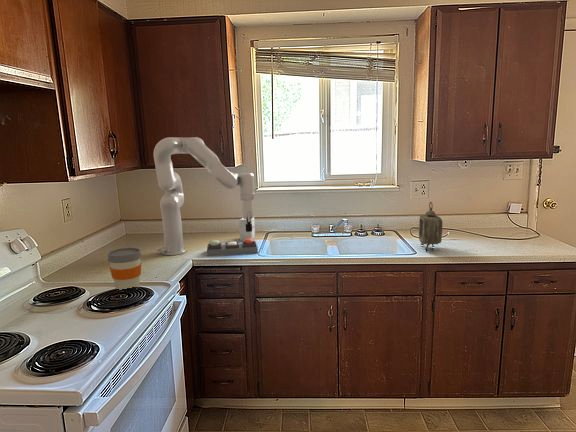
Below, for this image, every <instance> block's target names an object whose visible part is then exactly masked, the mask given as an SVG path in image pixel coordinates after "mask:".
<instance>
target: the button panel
mask: <svg viewBox="0 0 576 432" xmlns="http://www.w3.org/2000/svg"><path fill="white" fill-rule="evenodd" d="M241 241H242V240H241ZM228 242H229V241H227V242H225V244H222V242H219V244H220V245H219V246H210V242H208V243H207V246H206V256H207V257H214V256H215V257H216V256H217V257H218V256H228V255H229V256H233V255H247V254H250V255H251V254H259V252H258V251H259V250H258V248H259V247H258V245H257V242H256V240H254V243H253V244H245V243H244V241H242V242H241V243H239V241H236V242H237V245H227V243H228Z"/></svg>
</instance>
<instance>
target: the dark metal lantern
mask: <svg viewBox="0 0 576 432" xmlns="http://www.w3.org/2000/svg"><path fill="white" fill-rule="evenodd" d="M433 207H434V205H433V202H432V201H430V202H429V204H428V208H429V210H427V211H426V213H424V214H420V215H419V224H418V239H419V242H420V246H421V245H426V248H424V250H427V251H428V248H429V246H430V245H431V248H432V247H435V246H434V245H439V244H441V243H442V237H443V220H442V218H441V217H440V216H438V215H437V214H436V212H435V211H434V210H433Z"/></svg>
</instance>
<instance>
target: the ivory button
mask: <svg viewBox="0 0 576 432" xmlns="http://www.w3.org/2000/svg"><path fill="white" fill-rule="evenodd" d="M227 242H228V243H227V245H237V242H238V241H227Z"/></svg>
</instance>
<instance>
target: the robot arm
mask: <svg viewBox="0 0 576 432" xmlns="http://www.w3.org/2000/svg"><path fill="white" fill-rule="evenodd" d="M178 154H184V155H185V154H189V155H191V157H193V158H194V159H195V160H196V161H197V162H198V163H199V164H201V165H202V166H203V167H204V168H205V169H206V170H207V171H208V172H209V174H210V175H211V176H212V177H213V178H214V179H215V180H216V181H217V182H219V184H220V185H222V186H223V187H224V188H226V189H228V190H233V189H235V188H236V187H239V197H240V198H239V199H240V200H239V201H242V203H241V204H242V205H241V206H242V207H241V208H242V218H243V219H244V220H245V219H246V232H252V224H251V219H253V218H254V201H255V199H256V196H255V195H256V193H255V175H254V173H252V172H242V173H241V172H240V173H239V172H231V171H230V170H228V169H227V168H226V166H225V165H223V164H222V162H221V160H220V159H219V156H217V153H215V152H214V151H212V150H211V148H209V147H208V146H207V145H206V144H205V141H204V140H203V139H202V138H200V137H198V136H195V137H194V136H193V137H192V136H191V137H179V136H178V137H174V136H173V137H172V136H171V137H165V138H163V139H161V140H159V141H158V142H157V143H156V144H155V147H154V149H153V161H154V165H155V167H154V168H155V173H156V179H157V184H158V187H159V188H160V189H161V190H162V191H165V194H164V195H163V196H162V197H161V199H160V203H159V207H160V212H161V213H160V214H161V220H162V230H163V242H164V244H162V246H159V247H155V251H156V252H161V253H162V254H163V255H164V256H177V255H182V254H185V253H186V252H187V248H186V247H184V238H183V237H184V236H183V224H182V223H183V222H182V214H181V209H180V208H181V207H182V206H183V205H184V203H185V195H184V190H183V189H184V188H183V182H182V179H181V176H180V175H179V174H178V172H176V171H174V165H173V162H172V159H171V158H172V155H178Z"/></svg>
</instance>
